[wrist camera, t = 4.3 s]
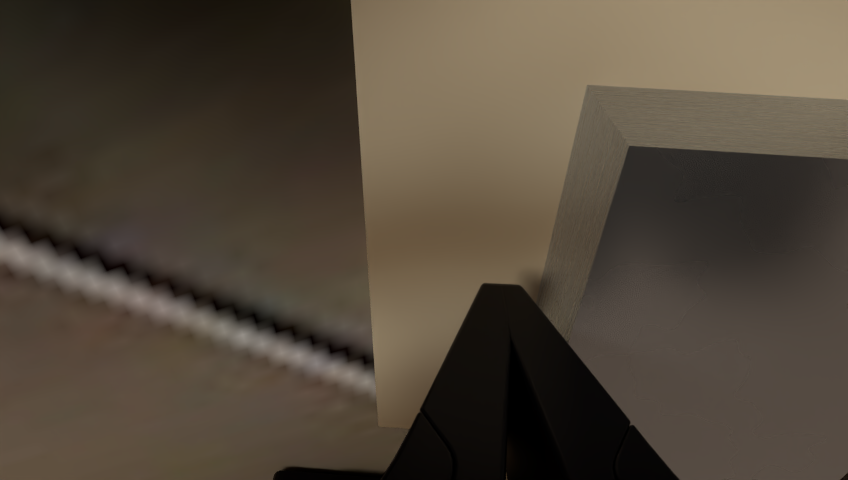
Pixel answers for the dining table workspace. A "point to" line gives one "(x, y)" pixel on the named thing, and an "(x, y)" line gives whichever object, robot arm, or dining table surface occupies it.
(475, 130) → the board
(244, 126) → the dining table surface
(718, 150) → the grey rectangular box
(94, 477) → the dining table surface
